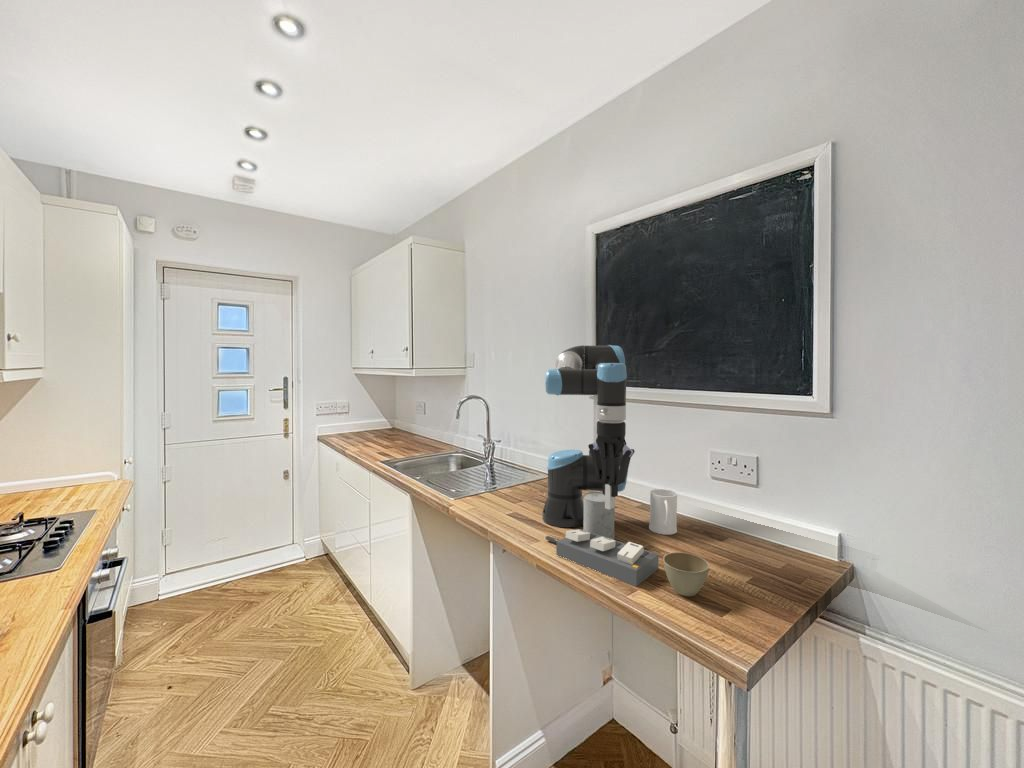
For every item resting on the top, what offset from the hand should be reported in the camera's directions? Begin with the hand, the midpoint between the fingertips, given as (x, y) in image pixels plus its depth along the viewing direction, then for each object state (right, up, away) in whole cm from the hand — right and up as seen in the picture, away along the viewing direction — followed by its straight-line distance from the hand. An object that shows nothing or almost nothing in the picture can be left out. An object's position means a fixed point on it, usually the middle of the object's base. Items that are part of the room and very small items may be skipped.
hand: (609, 507), depth 118 cm
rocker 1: (-8, -9, +3) cm, 12 cm away
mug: (+21, -14, +20) cm, 33 cm away
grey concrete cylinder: (0, -14, +17) cm, 22 cm away
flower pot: (+14, -16, -15) cm, 26 cm away
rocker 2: (-2, -9, -2) cm, 9 cm away
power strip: (-4, -14, +2) cm, 15 cm away
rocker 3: (+3, -9, -8) cm, 13 cm away
